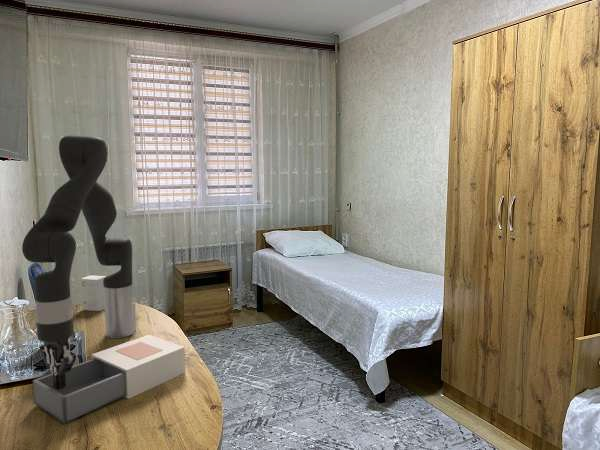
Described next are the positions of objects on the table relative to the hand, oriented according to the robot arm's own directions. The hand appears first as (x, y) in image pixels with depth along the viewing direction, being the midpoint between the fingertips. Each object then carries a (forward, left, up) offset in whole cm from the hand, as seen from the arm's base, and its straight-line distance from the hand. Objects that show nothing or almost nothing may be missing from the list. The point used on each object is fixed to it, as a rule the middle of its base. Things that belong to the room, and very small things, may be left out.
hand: (59, 387), depth 107 cm
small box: (-69, -44, -6) cm, 82 cm away
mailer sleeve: (-20, +8, -6) cm, 22 cm away
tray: (-5, +2, -5) cm, 8 cm away
